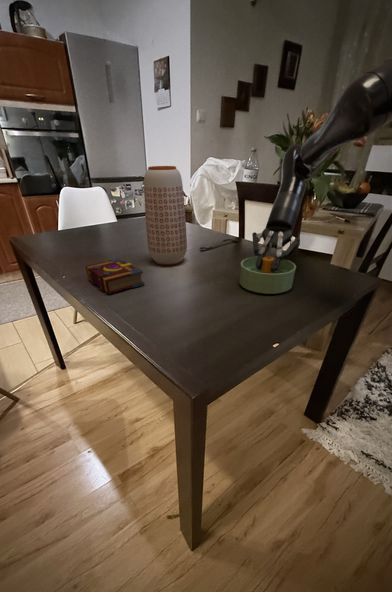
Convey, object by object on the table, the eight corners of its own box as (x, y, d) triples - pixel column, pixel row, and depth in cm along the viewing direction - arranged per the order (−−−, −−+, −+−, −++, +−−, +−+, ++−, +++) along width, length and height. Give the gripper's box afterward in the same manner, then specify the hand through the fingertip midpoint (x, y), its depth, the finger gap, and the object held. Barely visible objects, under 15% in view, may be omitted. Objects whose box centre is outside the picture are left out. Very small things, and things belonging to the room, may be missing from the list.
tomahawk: (227, 240, 123) (227, 238, 123) (239, 242, 119) (239, 239, 118) (191, 249, 112) (191, 246, 111) (202, 251, 107) (202, 248, 107)
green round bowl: (287, 276, 87) (291, 256, 84) (296, 296, 75) (300, 275, 72) (238, 274, 89) (240, 255, 85) (239, 294, 77) (241, 273, 73)
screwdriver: (270, 280, 83) (276, 242, 77) (271, 285, 80) (278, 245, 74) (258, 280, 83) (263, 241, 77) (259, 284, 81) (265, 245, 74)
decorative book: (108, 296, 76) (104, 278, 74) (86, 279, 87) (82, 262, 84) (144, 285, 82) (142, 268, 79) (120, 270, 92) (117, 255, 90)
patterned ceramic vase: (189, 266, 95) (187, 167, 79) (149, 269, 93) (139, 168, 77) (184, 254, 106) (182, 165, 89) (149, 256, 104) (139, 165, 88)
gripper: (258, 203, 79) (238, 259, 77) (310, 207, 73) (290, 267, 72) (261, 220, 86) (243, 272, 84) (309, 225, 80) (291, 280, 78)
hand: (265, 269), depth 78 cm, fingers closed on screwdriver, 3 cm apart
